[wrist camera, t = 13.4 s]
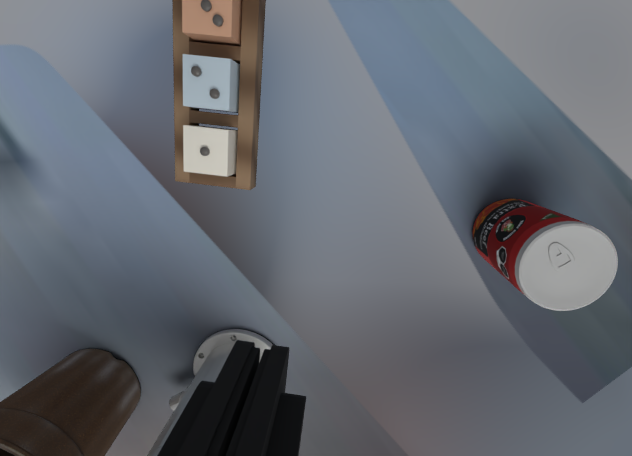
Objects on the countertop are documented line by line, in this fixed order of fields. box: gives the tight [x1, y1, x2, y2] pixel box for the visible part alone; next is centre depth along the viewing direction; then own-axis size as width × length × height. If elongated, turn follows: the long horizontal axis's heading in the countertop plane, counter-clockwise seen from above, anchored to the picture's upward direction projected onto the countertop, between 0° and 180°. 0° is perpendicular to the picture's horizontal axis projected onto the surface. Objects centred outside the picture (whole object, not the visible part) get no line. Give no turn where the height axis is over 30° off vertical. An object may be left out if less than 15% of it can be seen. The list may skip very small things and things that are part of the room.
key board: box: [173, 0, 266, 190], centre depth 35 cm, size 20×8×2 cm, turn 174°
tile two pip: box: [183, 54, 240, 113], centre depth 33 cm, size 5×5×4 cm
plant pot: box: [0, 349, 141, 456], centre depth 41 cm, size 16×16×16 cm
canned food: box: [473, 199, 618, 311], centre depth 32 cm, size 8×8×11 cm
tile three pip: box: [182, 0, 243, 47], centre depth 31 cm, size 5×5×4 cm
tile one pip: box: [183, 125, 238, 177], centre depth 35 cm, size 5×5×4 cm
